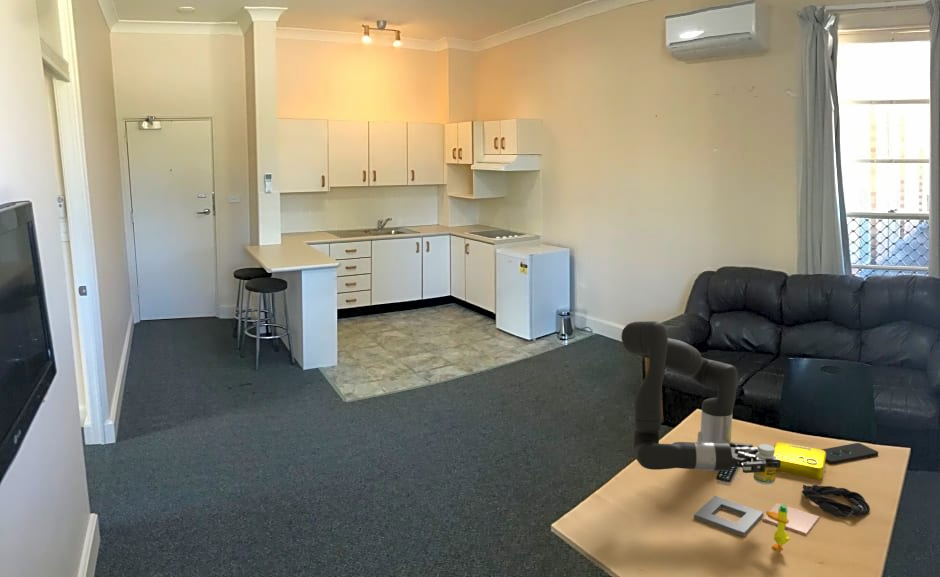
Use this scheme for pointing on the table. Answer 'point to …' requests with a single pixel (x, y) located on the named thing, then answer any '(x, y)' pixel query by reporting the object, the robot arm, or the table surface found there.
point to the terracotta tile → (795, 519)
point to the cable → (833, 506)
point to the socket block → (739, 528)
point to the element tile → (800, 460)
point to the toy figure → (780, 526)
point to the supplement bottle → (769, 473)
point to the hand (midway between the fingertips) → (775, 458)
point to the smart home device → (848, 453)
